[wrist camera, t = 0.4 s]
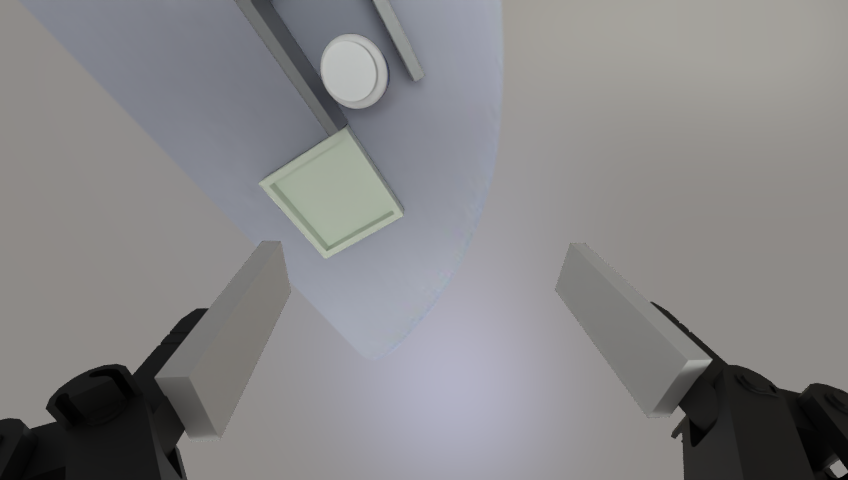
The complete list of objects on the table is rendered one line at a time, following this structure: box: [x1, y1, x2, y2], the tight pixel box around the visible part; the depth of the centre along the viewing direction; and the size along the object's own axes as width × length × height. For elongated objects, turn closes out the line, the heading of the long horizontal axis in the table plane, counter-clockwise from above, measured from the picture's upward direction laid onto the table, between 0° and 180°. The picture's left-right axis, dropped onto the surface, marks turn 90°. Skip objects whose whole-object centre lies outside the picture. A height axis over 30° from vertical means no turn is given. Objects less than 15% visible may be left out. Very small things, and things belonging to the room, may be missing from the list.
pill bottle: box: [320, 34, 390, 109], centre depth 26 cm, size 5×5×10 cm
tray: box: [258, 125, 404, 259], centre depth 36 cm, size 12×12×2 cm
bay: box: [234, 0, 425, 137], centre depth 25 cm, size 14×10×8 cm
